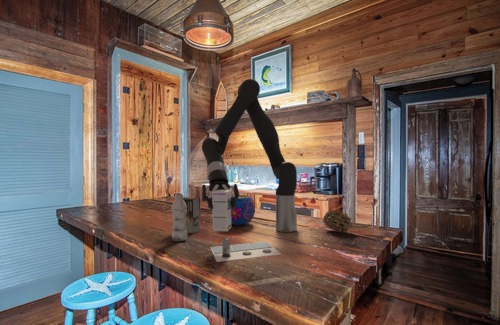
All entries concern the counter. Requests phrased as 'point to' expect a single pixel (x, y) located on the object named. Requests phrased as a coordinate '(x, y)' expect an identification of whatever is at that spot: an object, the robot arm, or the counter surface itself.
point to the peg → (226, 247)
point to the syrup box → (221, 210)
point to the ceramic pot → (243, 210)
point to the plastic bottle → (179, 218)
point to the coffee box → (192, 214)
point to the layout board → (245, 251)
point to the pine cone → (340, 221)
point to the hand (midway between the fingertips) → (222, 208)
